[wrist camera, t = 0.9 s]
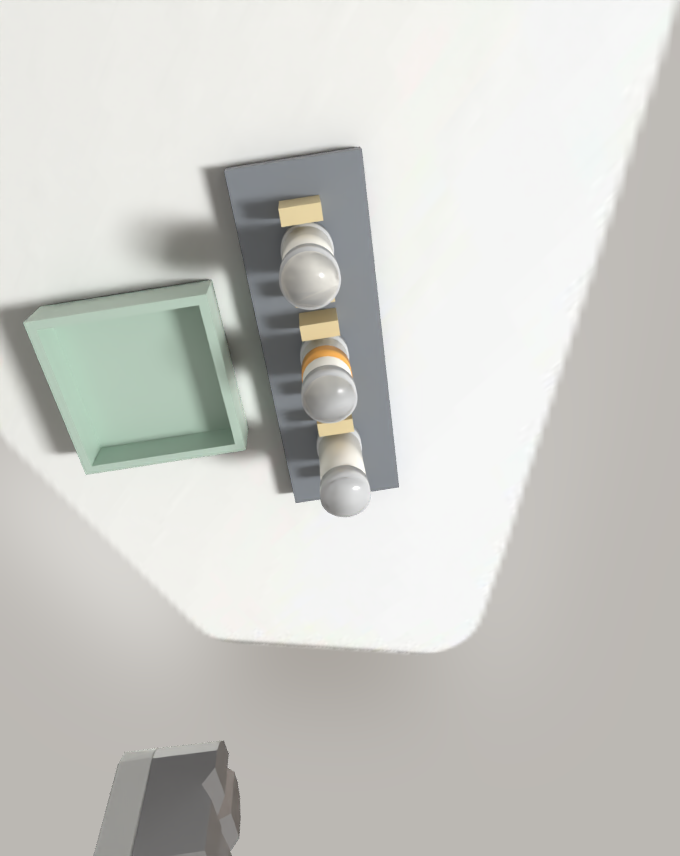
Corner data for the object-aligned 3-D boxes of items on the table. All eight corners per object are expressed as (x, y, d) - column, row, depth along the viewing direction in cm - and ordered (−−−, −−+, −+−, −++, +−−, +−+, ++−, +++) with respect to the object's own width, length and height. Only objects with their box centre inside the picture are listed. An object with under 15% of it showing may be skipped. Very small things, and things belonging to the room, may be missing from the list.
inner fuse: (276, 224, 38) (273, 254, 32) (329, 216, 38) (336, 244, 31) (285, 276, 39) (285, 314, 33) (336, 268, 39) (344, 304, 33)
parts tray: (40, 306, 40) (22, 322, 38) (211, 279, 40) (206, 294, 38) (97, 451, 46) (86, 474, 43) (248, 428, 46) (245, 450, 43)
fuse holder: (225, 167, 37) (219, 176, 34) (359, 146, 37) (366, 153, 34) (295, 493, 49) (295, 522, 46) (396, 478, 49) (403, 506, 46)
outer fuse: (313, 424, 45) (316, 480, 39) (357, 417, 45) (367, 472, 38) (319, 461, 46) (324, 520, 40) (362, 454, 46) (373, 513, 40)
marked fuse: (296, 332, 41) (297, 378, 35) (344, 325, 41) (353, 369, 35) (304, 376, 43) (306, 427, 37) (350, 369, 43) (360, 418, 37)
